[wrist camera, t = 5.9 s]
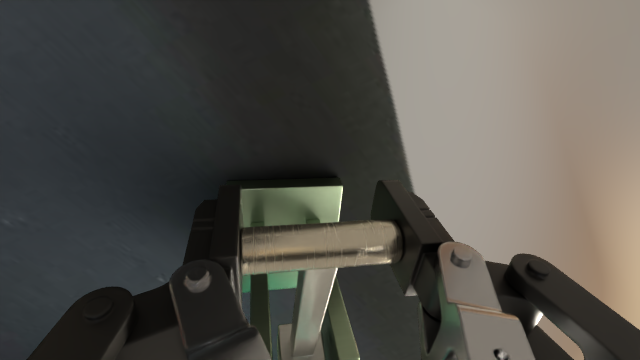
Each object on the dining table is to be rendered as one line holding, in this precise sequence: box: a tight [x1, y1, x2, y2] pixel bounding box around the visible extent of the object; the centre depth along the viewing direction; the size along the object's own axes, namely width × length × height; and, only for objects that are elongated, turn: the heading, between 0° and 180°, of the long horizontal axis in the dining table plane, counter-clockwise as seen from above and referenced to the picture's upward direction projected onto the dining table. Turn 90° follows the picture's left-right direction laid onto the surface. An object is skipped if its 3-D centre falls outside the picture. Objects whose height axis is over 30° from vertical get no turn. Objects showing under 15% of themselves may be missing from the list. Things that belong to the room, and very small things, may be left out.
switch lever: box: [240, 219, 404, 360], centre depth 14 cm, size 12×5×2 cm, turn 176°
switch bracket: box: [226, 178, 360, 360], centre depth 21 cm, size 10×8×12 cm
